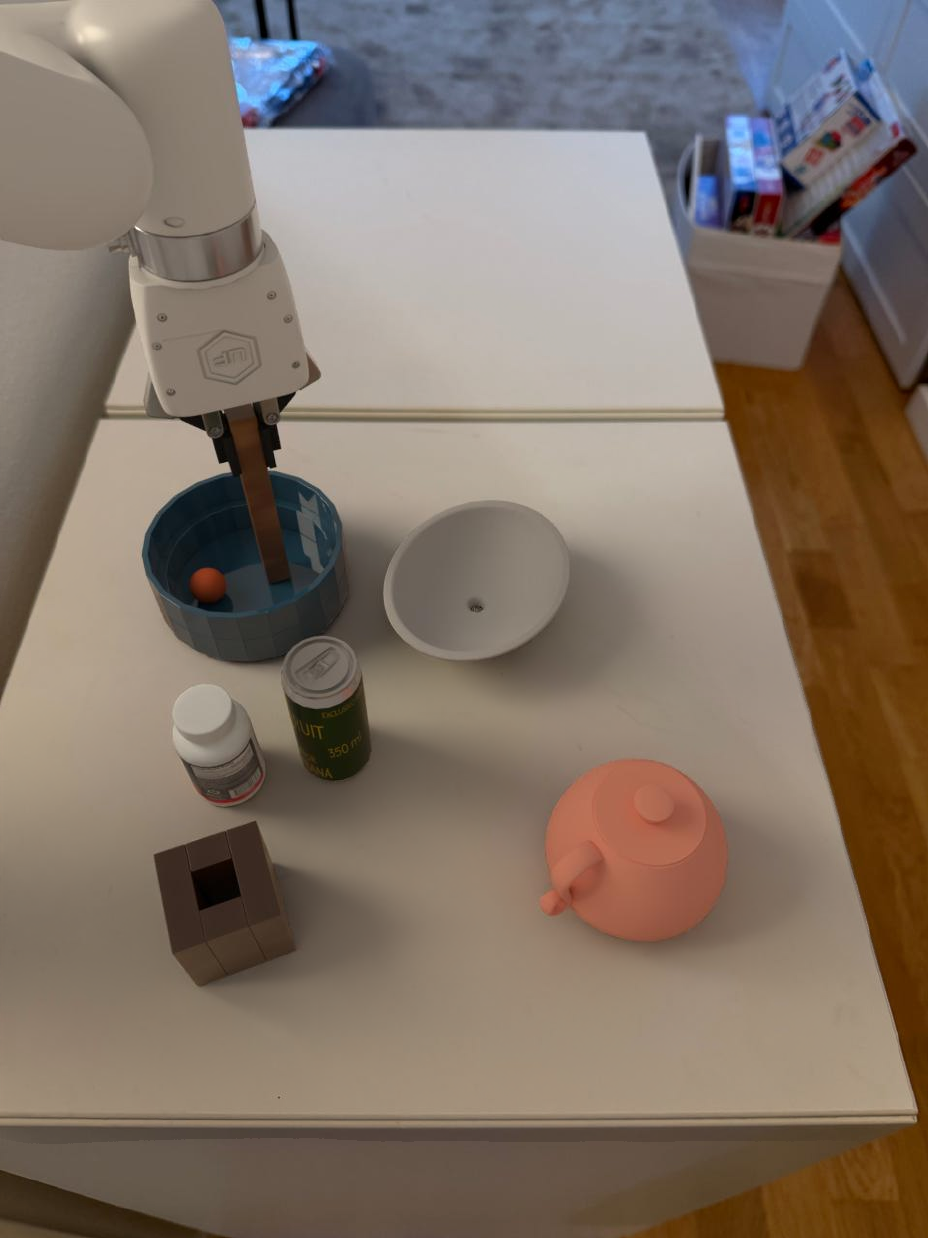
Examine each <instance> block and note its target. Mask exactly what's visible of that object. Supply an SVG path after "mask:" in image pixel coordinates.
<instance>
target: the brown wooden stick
mask: <svg viewBox="0 0 928 1238" xmlns="http://www.w3.org/2000/svg"><path fill="white" fill-rule="evenodd" d="M223 413H224V414H225V417H226V420H227V423H228V426H229V429H230V432H231V433H232V435H233V439H234V443H235V447H236V451H237V455H238V459H239V463H240V467H241V471H242V474H240V477H241V481H242V485H243V489H244V493H245V497H246V501H247V505H248V509H249V513H250V517H251V521H252V525H253V529H254V533H255V537H256V541H257V545H258V549H259V553H260V557H261V561H262V565H263V568H264V571H265V574H266V577H267V580H268V583H269V584H271V583H275V582H279V581H282V580H286V579H289V578H291V574H290V569H289V565H288V560H287V556H286V551H285V546H284V542H283V537H282V533H281V528H280V523H279V519H278V514H277V510H276V505H275V500H274V496H273V491H272V486H271V482H270V477H269V473H268V470H269V469H268V468H269V467H268V468H267V467H266V463H265V459H264V454H263V450H262V445H261V441H260V436H259V431H258V422H257V417H256V414H255V412H254V409H253V406H252V403H250V404H246V405H242V406H237V407H233V408H228V409H224V410H223Z"/></svg>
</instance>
